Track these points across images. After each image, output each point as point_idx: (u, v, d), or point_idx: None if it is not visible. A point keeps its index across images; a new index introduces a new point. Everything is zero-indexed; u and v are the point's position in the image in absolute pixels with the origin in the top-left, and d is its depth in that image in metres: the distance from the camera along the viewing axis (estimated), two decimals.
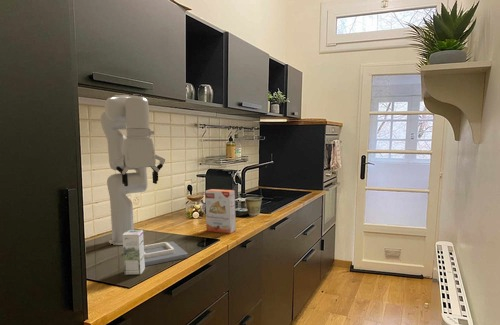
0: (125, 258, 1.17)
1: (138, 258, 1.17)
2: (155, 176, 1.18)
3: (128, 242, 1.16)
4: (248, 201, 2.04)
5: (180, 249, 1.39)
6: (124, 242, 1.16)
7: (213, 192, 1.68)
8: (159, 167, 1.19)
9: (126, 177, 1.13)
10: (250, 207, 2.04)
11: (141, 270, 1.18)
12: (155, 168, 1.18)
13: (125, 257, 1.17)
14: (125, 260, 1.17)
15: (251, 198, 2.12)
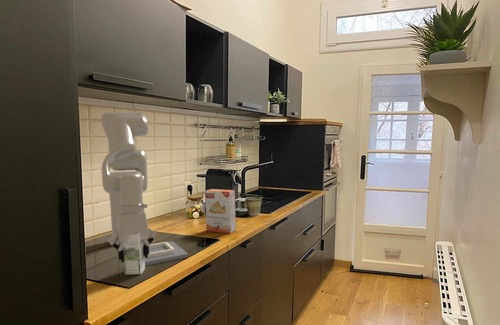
0: (125, 258, 1.17)
1: (138, 258, 1.17)
2: (146, 250, 1.20)
3: (128, 242, 1.16)
4: (248, 201, 2.04)
5: (180, 249, 1.39)
6: None
7: (213, 192, 1.68)
8: (150, 241, 1.21)
9: (122, 254, 1.16)
10: (250, 207, 2.04)
11: (141, 270, 1.18)
12: (146, 243, 1.20)
13: (125, 257, 1.17)
14: (125, 260, 1.17)
15: (251, 198, 2.12)
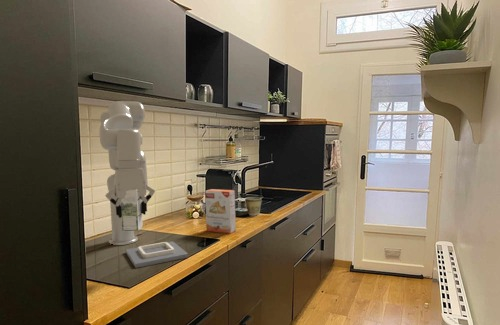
0: (123, 214, 1.16)
1: (136, 213, 1.16)
2: (144, 207, 1.20)
3: (126, 197, 1.16)
4: (248, 201, 2.04)
5: (180, 249, 1.39)
6: None
7: (213, 192, 1.68)
8: (148, 198, 1.21)
9: (120, 209, 1.16)
10: (250, 207, 2.04)
11: (139, 226, 1.18)
12: (144, 199, 1.20)
13: (122, 213, 1.16)
14: (123, 216, 1.16)
15: (251, 198, 2.12)
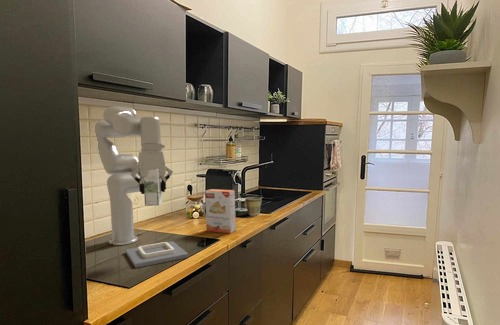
0: (145, 190, 1.33)
1: (157, 190, 1.33)
2: (163, 185, 1.36)
3: (148, 176, 1.32)
4: (248, 201, 2.04)
5: (180, 249, 1.39)
6: None
7: (213, 192, 1.68)
8: (167, 178, 1.37)
9: (143, 186, 1.32)
10: (250, 207, 2.04)
11: (159, 202, 1.35)
12: (163, 178, 1.36)
13: (145, 189, 1.33)
14: (145, 192, 1.33)
15: (251, 198, 2.12)
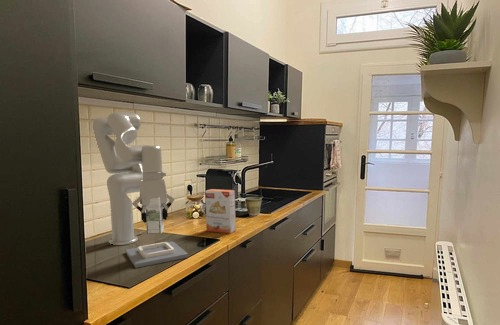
0: (147, 219, 1.34)
1: (159, 219, 1.34)
2: (165, 213, 1.37)
3: (150, 205, 1.33)
4: (248, 201, 2.04)
5: (180, 249, 1.39)
6: None
7: (213, 192, 1.68)
8: (168, 205, 1.38)
9: (145, 215, 1.33)
10: (250, 207, 2.04)
11: (161, 230, 1.35)
12: (165, 206, 1.37)
13: (147, 218, 1.34)
14: (147, 221, 1.34)
15: (251, 198, 2.12)
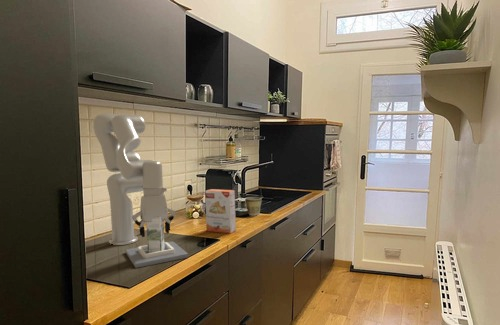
0: (148, 238, 1.35)
1: (160, 238, 1.35)
2: (167, 227, 1.38)
3: (151, 224, 1.34)
4: (248, 201, 2.04)
5: (180, 249, 1.39)
6: (147, 224, 1.34)
7: (213, 192, 1.68)
8: (171, 219, 1.39)
9: (143, 229, 1.33)
10: (250, 207, 2.04)
11: (162, 249, 1.36)
12: (167, 220, 1.38)
13: (148, 237, 1.35)
14: (148, 240, 1.35)
15: (251, 198, 2.12)
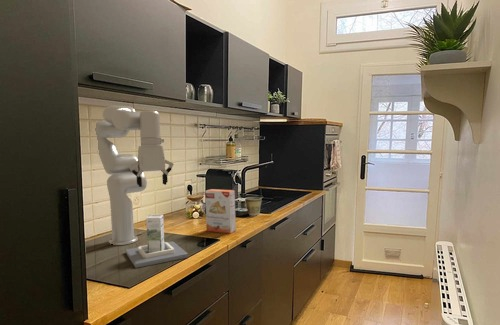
0: (148, 238, 1.35)
1: (160, 238, 1.35)
2: (165, 178, 1.37)
3: (151, 224, 1.34)
4: (248, 201, 2.04)
5: (180, 249, 1.39)
6: (147, 224, 1.34)
7: (213, 192, 1.68)
8: (168, 170, 1.38)
9: (140, 179, 1.32)
10: (250, 207, 2.04)
11: (162, 249, 1.36)
12: (165, 171, 1.37)
13: (148, 237, 1.35)
14: (148, 240, 1.35)
15: (251, 198, 2.12)
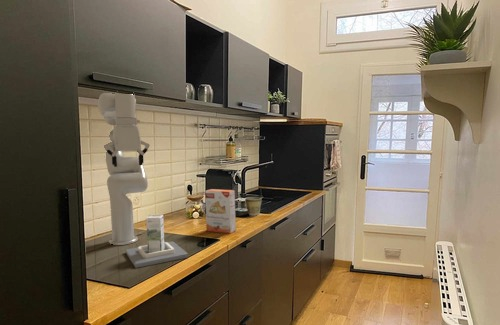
0: (148, 238, 1.35)
1: (160, 238, 1.35)
2: (140, 159, 1.37)
3: (151, 224, 1.34)
4: (248, 201, 2.04)
5: (180, 249, 1.39)
6: (147, 224, 1.34)
7: (213, 192, 1.68)
8: (144, 151, 1.39)
9: (115, 159, 1.33)
10: (250, 207, 2.04)
11: (162, 249, 1.36)
12: (140, 152, 1.37)
13: (148, 237, 1.35)
14: (148, 240, 1.35)
15: (251, 198, 2.12)
